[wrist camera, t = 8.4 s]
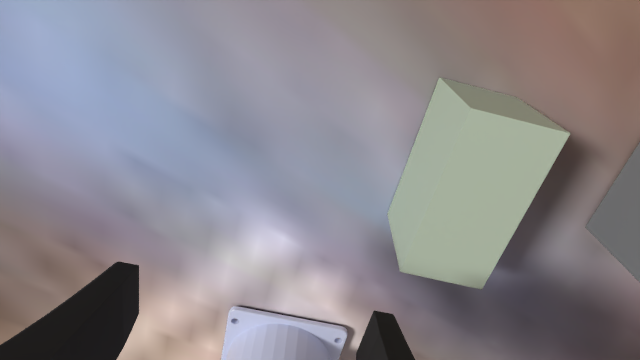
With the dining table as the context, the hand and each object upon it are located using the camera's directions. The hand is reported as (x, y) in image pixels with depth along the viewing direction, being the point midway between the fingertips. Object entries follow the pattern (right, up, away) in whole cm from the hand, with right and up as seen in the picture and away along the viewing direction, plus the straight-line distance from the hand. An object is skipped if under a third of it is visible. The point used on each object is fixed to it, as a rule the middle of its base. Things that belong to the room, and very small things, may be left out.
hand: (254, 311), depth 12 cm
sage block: (+9, +5, +9) cm, 13 cm away
